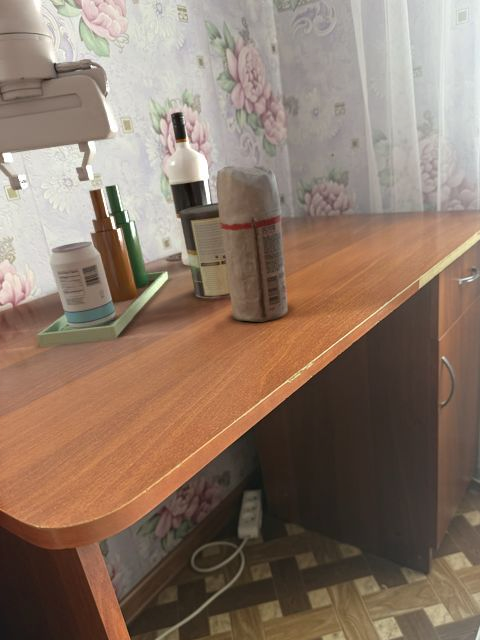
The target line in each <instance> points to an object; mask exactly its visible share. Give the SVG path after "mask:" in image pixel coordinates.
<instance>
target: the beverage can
mask: <svg viewBox="0 0 480 640" xmlns="http://www.w3.org/2000/svg"><path fill="white" fill-rule="evenodd" d="M50 256H51V257H50V261H49V265H50V268H51V272H52V275H53V278H54V279H53V280H54V282H55V285H56V288H57V291H58V295H59V298H60V302H61V306H62V308H63V312H64V314H65V315H66V318H67V322H68V324H67V325H69V326H70V327H73V328H76V329H84V328H93V327H102V326H107V325H108V324H109V323H110V322H111V320H114V318H115V317H116V315H117V314H116V309H115V306H114V302H112V298H111V294H110V290H109V287H108V283H107V279H106V275H105V271H104V267H103V264H102V260H101V256H100V253H99V252H98V251H97V250H96V248H95V247H94V246H93V242H92V241H79V242H72V243H68V244H63V245H59V246H57V247H53V248H52V249H51V255H50Z"/></svg>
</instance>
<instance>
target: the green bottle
mask: <svg viewBox="0 0 480 640" xmlns="http://www.w3.org/2000/svg"><path fill="white" fill-rule="evenodd" d="M104 188H105V192H106V197H107V201H108V204H109V208H110V212H109V216H114V218H115V222H116V226H117V227H122V231H123V235H124V239H125V243H126V247H127V251H128V256H129V260H130V264H131V268H132V272H133V276H134V281H135V285H136V289H137V290H139V289H142V288H145V287H147V286H150V281H149V280H148V276H147V274H148V272H147V267H146V263H145V259H144V255H143V250H142V247H141V242H140V237H139V233H138V228H137V224H136V220H134V219H130V213H129V210H128V209H124V205H123V201H122V197H121V193H120V189H119V185H118V184H111V185H106V186H104Z"/></svg>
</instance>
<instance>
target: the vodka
mask: <svg viewBox="0 0 480 640" xmlns="http://www.w3.org/2000/svg"><path fill="white" fill-rule="evenodd" d="M170 118H171V123H172V128H173V129H172V130H173V135H174V139H175V147H176V150H175V151H174V152H173V153H172V154H171V155H170V157H169V158H168V159H167V161H166V163H165V171H166V175H167V178H168V183H169V187H170V192H171V196H172V197H171V198H172V201H173V206H174V211H175V217H176V224H177V227H178V231H179V240H180V249H181V255H180V256H181V262H182V264H183V265H185V266H190V264H189V259H188V254H187V249H186V244H185V238H184V233H183V228H182V223H181V219H180V217H179V212H180V211H182V210H184V209H188V208H192V207H196V206H201V205H207V204H213V198H212V192H211V186H210V180H209V177H210V174H209V171H208V170H209V169H208V162H207V159H206V157H205V156H204V154H202V153H200V152H198V151H197V150H195V149H193V148H192V147H191V146H190V141H189V136H188V129H187V125H186V119H185V113H184V112H182V111H175V112H173V113H170Z"/></svg>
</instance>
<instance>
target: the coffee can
mask: <svg viewBox="0 0 480 640" xmlns="http://www.w3.org/2000/svg"><path fill="white" fill-rule="evenodd" d="M212 203H213V202H212ZM179 217H180V219H181V223H182V228H183V233H184V238H185V244H186V249H187V254H188V259H189V264H190V265H189V268H190V273H191V274H190V275H191V278H192V284H193V289H194V295H195V296H196V297H198V298H204V299H216V298H225V297H230V293H229V286H228V278H227V267H226V260H225V251H224V250H223V249H224V246H223V239H222V232H221V227H220V217H219V208H218V202H214V203H213V204H207V205H201V206H196V207H192V208H188V209H184V210H182V211H180V212H179Z"/></svg>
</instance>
